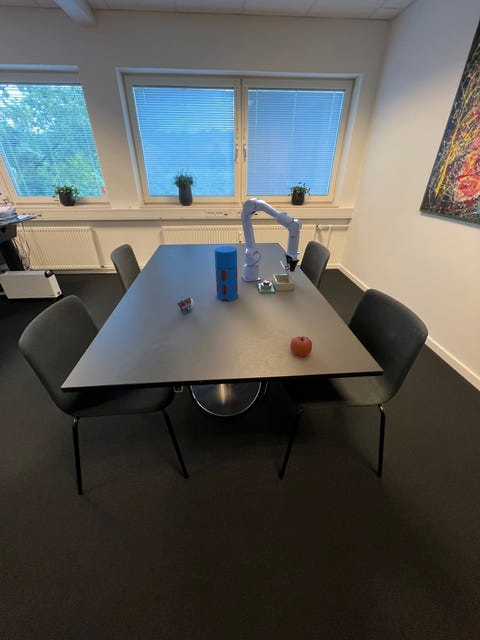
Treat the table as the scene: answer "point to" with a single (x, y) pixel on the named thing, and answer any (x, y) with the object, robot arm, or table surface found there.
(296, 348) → the red apple
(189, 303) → the geometric puzzle
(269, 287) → the control pad
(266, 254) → the table surface
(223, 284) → the thermos
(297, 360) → the table surface
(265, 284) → the button
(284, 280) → the beige open box
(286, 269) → the lid
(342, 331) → the table surface
